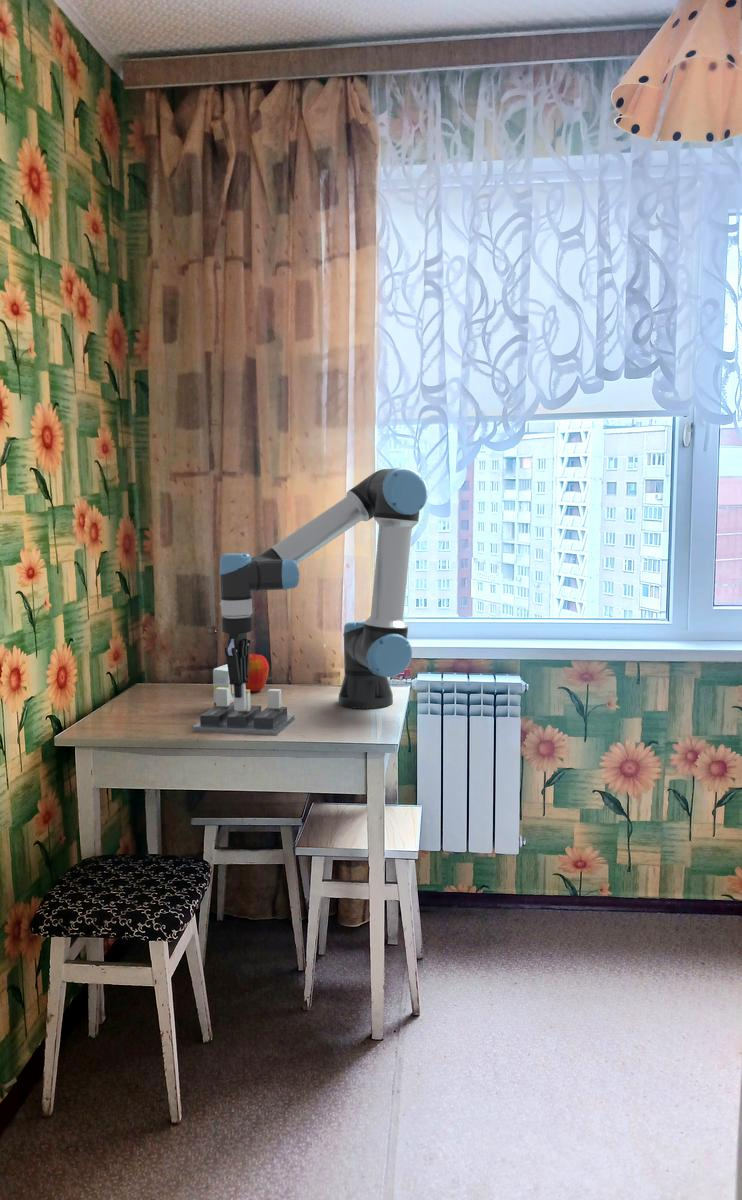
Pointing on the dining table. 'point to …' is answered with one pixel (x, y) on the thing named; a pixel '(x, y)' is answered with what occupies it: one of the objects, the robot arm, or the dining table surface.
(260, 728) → the panel
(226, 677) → the ink box
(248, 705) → the handle mid
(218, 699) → the handle
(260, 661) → the apple
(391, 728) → the dining table surface
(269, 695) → the handle
